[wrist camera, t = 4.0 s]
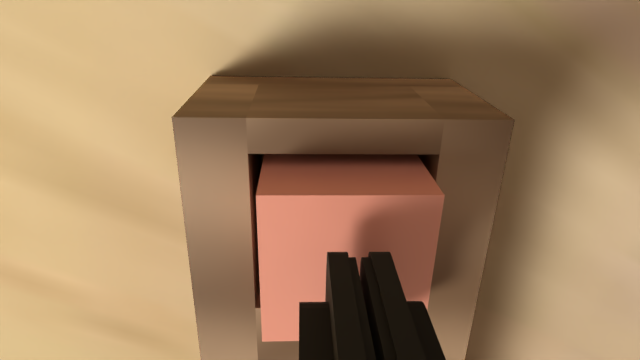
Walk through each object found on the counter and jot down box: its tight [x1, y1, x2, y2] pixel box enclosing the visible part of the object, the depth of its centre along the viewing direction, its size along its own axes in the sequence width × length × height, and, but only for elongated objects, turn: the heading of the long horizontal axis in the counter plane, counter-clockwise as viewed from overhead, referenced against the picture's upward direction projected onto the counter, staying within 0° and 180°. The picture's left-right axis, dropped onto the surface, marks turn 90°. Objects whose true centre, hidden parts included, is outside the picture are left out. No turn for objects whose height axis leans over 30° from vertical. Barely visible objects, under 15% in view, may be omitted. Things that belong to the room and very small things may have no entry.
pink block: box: [256, 154, 445, 342], centre depth 15 cm, size 5×5×4 cm
